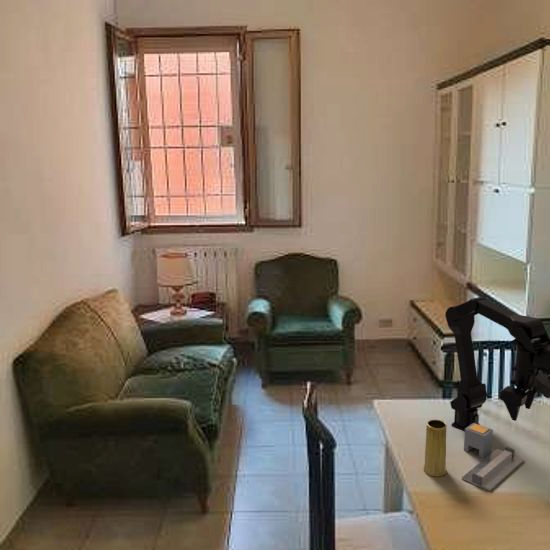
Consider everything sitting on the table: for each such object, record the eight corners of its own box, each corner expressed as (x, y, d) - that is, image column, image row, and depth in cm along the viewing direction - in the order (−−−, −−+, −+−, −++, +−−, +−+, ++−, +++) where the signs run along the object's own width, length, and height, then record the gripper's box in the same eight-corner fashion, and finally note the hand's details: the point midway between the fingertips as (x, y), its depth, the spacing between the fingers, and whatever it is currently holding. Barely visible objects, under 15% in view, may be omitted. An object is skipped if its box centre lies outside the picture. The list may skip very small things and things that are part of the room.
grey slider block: (463, 450, 166) (464, 428, 165) (472, 443, 170) (473, 421, 168) (482, 458, 162) (484, 435, 160) (491, 451, 165) (492, 428, 164)
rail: (461, 479, 152) (462, 470, 152) (497, 450, 166) (497, 442, 165) (489, 491, 147) (490, 483, 146) (524, 461, 160) (524, 452, 159)
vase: (446, 466, 159) (448, 420, 155) (445, 478, 153) (447, 430, 150) (424, 462, 161) (425, 417, 157) (422, 474, 155) (424, 427, 152)
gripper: (542, 383, 144) (536, 437, 148) (569, 361, 157) (563, 412, 161) (500, 370, 152) (495, 422, 156) (528, 350, 164) (523, 399, 168)
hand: (521, 414), depth 160 cm, fingers open, 9 cm apart
